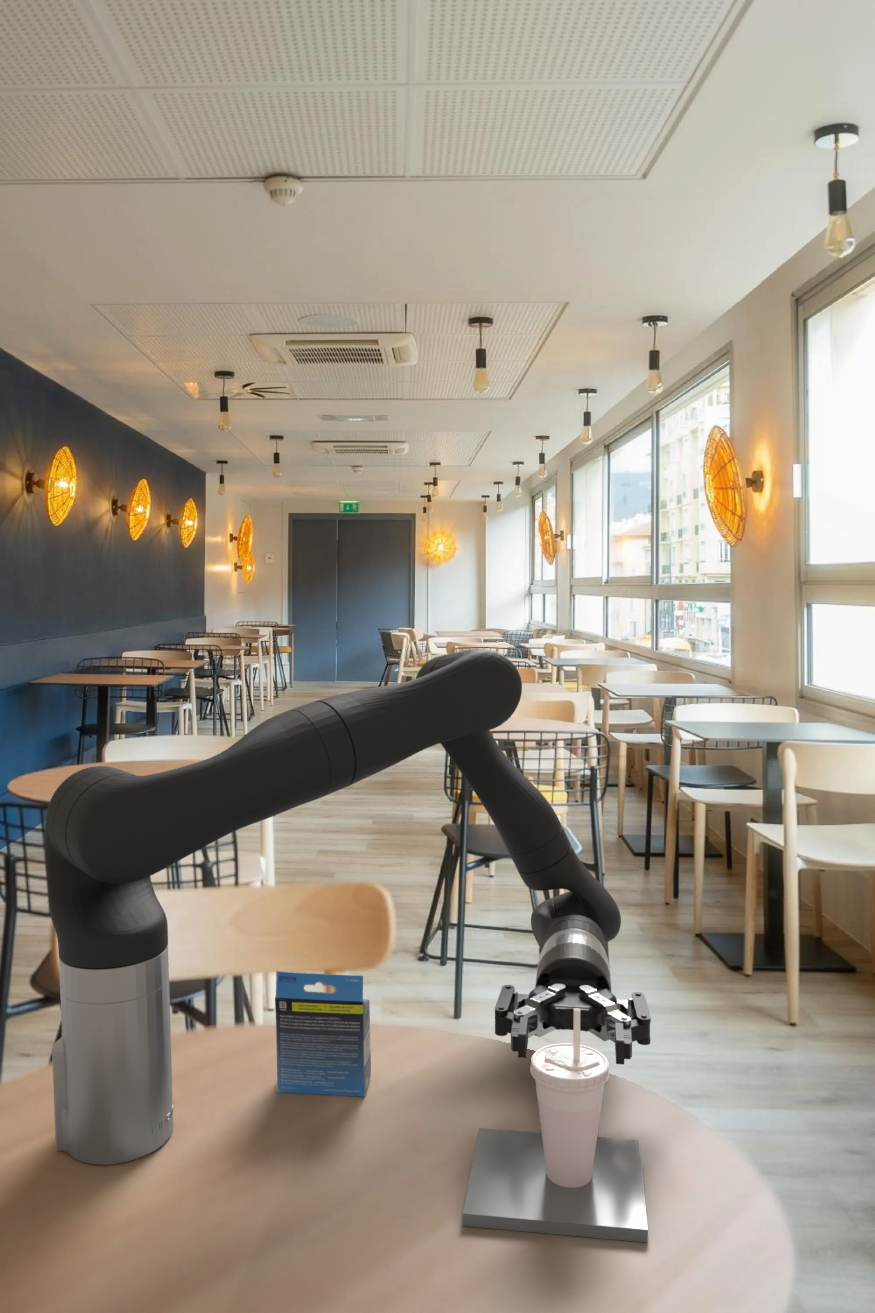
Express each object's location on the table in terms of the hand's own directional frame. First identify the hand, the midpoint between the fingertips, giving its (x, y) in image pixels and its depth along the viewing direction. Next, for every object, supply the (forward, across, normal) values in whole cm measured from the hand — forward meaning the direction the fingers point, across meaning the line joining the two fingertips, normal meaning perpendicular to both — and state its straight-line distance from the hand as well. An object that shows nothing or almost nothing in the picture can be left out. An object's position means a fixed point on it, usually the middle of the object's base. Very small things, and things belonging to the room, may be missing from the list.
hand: (570, 1051), depth 86 cm
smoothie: (+6, 0, +8) cm, 10 cm away
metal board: (+6, -1, +9) cm, 11 cm away
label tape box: (-7, -24, +9) cm, 27 cm away
